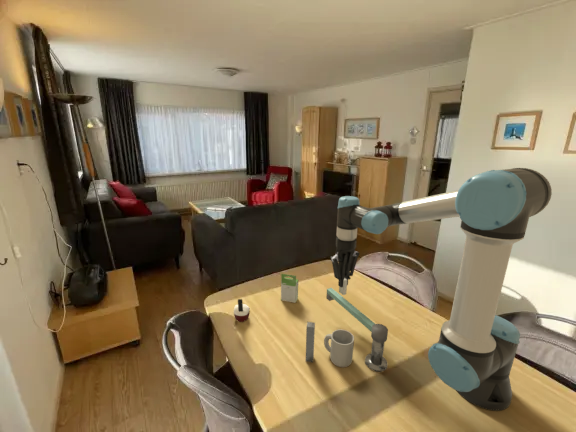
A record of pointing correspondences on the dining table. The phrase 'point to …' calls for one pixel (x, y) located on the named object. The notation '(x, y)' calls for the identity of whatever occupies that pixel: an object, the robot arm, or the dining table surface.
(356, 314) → the bar
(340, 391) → the dining table surface
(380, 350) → the grey flanged post
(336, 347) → the cup
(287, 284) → the ink box
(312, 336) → the post
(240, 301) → the cocoa
